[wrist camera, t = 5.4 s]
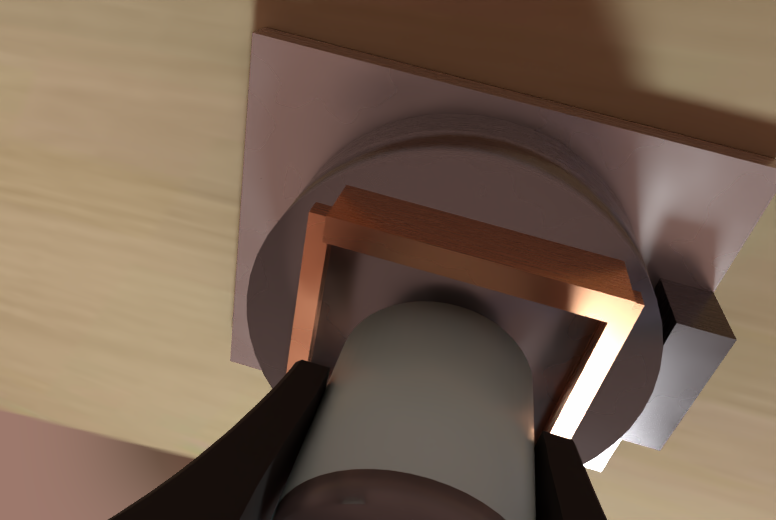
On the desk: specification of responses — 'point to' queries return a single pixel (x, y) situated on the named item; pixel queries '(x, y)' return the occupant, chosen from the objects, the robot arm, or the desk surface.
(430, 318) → the cylinder
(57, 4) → the desk surface
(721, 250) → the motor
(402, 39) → the desk surface
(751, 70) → the desk surface
